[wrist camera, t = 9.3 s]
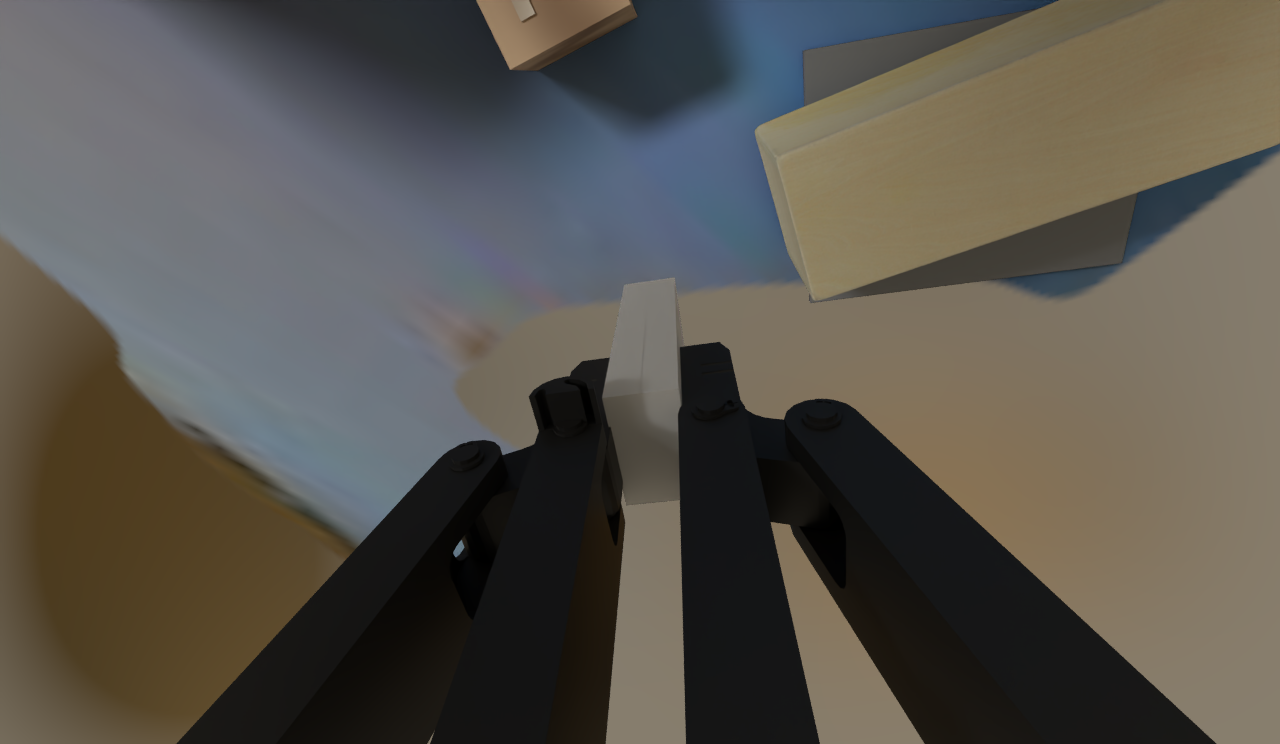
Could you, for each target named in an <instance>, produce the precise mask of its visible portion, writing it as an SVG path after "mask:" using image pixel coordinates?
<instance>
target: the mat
mask: <svg viewBox="0 0 1280 744" xmlns="http://www.w3.org/2000/svg"><path fill="white" fill-rule="evenodd" d="M1035 10H1037V9H1033V10H1028V11H1022V12H1016V13H1011V14H1005V15H1000V16H994V17H989V18H983V19H977V20H972V21H966V22H961V23H955V24H949V25H944V26H938V27H933V28H927V29H921V30H916V31H910V32H905V33H899V34H894V35H888V36H882V37H877V38H871V39H866V40H860V41H854V42H849V43H843V44H838V45H832V46H827V47H821V48H815V49H810V50H804V51H803V79H804V107H805V106H807V105H810V104H812V103H814V102H817V101H819V100H822V99H824V98H827V97H829V96H832V95H834V94H836V93H839V92H841V91H844V90H846V89H848V88H851V87H853V86H856V85H858V84H860V83H863V82H865V81H867V80H870V79H872V78H874V77H877V76H879V75H882V74H884V73H887V72H889V71H891V70H894V69H896V68H899V67H901V66H903V65H906V64H908V63H910V62H913V61H915V60H918V59H920V58H922V57H925V56H927V55H929V54H932V53H934V52H937V51H939V50H942V49H944V48H947V47H949V46H952V45H954V44H956V43H959V42H961V41H963V40H966V39H968V38H971V37H973V36H975V35H978V34H980V33H982V32H985V31H987V30H990V29H992V28H995V27H997V26H999V25H1002V24H1004V23H1006V22H1009V21H1011V20H1013V19H1016V18H1018V17H1020V16H1023V15H1025V14H1027V13H1030V12H1032V11H1035ZM1137 194H1138V193H1135V194H1132V195H1129V196H1126V197H1123V198H1120V199H1117V200H1114V201H1111V202H1108V203H1105V204H1102V205H1099V206H1096V207H1093V208H1090V209H1087V210H1084V211H1081V212H1078V213H1075V214H1072V215H1069V216H1066V217H1063V218H1060V219H1058V220H1055V221H1052V222H1049V223H1046V224H1043V225H1040V226H1037V227H1034V228H1031V229H1028V230H1026V231H1023V232H1020V233H1017V234H1014V235H1012V236H1009V237H1006V238H1003V239H1000V240H997V241H994V242H991V243H988V244H985V245H982V246H979V247H976V248H973V249H970V250H968V251H965V252H962V253H959V254H956V255H953V256H950V257H947V258H944V259H941V260H938V261H936V262H933V263H930V264H927V265H924V266H920V267H917V268H915V269H912V270H909V271H906V272H903V273H900V274H897V275H894V276H891V277H888V278H885V279H882V280H879V281H876V282H873V283H871V284H868V285H865V286H862V287H859V288H856V289H853V290H850V291H847V292H844V293H841V294H838V295H835V296H832V297H829V298H826V299H823V300H818V301H815V300H813V299H812V297H811V295H810V294H809V301H810V302H811V303H814V302H822V301H830V300H837V299H845V298H853V297H861V296H869V295H876V294H884V293H892V292H900V291H908V290H916V289H923V288H931V287H939V286H947V285H954V284H962V283H970V282H978V281H986V280H994V279H1001V278H1009V277H1017V276H1025V275H1033V274H1040V273H1048V272H1056V271H1064V270H1072V269H1079V268H1087V267H1095V266H1103V265H1111V264H1118V263H1122V260H1123V256H1124V251H1125V247H1126V242H1127V238H1128V234H1129V229H1130V225H1131V220H1132V216H1133V212H1134V207H1135V203H1136V198H1137Z"/></svg>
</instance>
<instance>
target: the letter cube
mask: <svg viewBox="0 0 1280 744" xmlns="http://www.w3.org/2000/svg"><path fill="white" fill-rule="evenodd" d="M476 1H477V3H478V5H479V7H480V9H481V11H482V13H483V15H484V17H485V19H486V21H487V23H488V25H489V27H490V29H491V31H492V34H493V36H494V38H495V40H496V42H497V44H498V46H499V48H500V50H501V52H502V54H503V56H504V58H505V60H506V62H507V64H508V66H509V68H510V70H530V71H538V70H540V69H542V68H544V67H545V66H547V65H549V64H551V63H553V62H555V61H557V60H559V59H560V58H562V57H564V56H566V55H568V54H570V53H572V52H573V51H575V50H577V49H579V48H581V47H583V46H585V45H586V44H588V43H590V42H592V41H594V40H596V39H598V38H599V37H601V36H603V35H605V34H607V33H609V32H611V31H612V30H614V29H616V28H618V27H620V26H622V25H624V24H626V23H627V22H629V21H631V20H633V19H635V18H637V17H638V16H637V14H636V11H635V9H634V6H633V3H632V1H631V0H476Z"/></svg>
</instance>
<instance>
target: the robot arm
mask: <svg viewBox="0 0 1280 744" xmlns="http://www.w3.org/2000/svg"><path fill="white" fill-rule="evenodd" d="M529 399H530V402H531V406H532V408H533V412H534V416H535V419H536V422H537V426H538V429H539V433H538V435H537V438H536V441H535V444H534V445H532V446H529V447H527V448H524V449H521V450H518V451H515V452H512V453H508V454H505V455H502V452H501V449H500V446H498V445H497V444H496V443H495V442H492V441H487V440H480V441H470V442H467V443H463V444H460V445H458V446H457V447H455V448H453V449H451V450H449V451H448V452H447V453H445V454H444V455H443V456H442V457H441V458H439V459H438V461H437V462H436V463H435V464H434V465H433V466H432V467H431V468H430V469H429V470H428V471H427V472H426V474H425V475H424V476H423V477H422V478H421V479H420V480H419V481H418V482H417V483H416V484H415V485H414V487H413V488H412V489H411V490H410V491H409V492H408V493H407V494H406V495H405V496H404V497H403V498H402V500H401V501H400V502H399V503H398V504H397V505H396V506H395V507H394V508H393V509H392V510H391V511H390V513H389V514H388V515H387V516H386V517H385V518H384V519H383V520H382V521H381V522H380V523H379V525H378V526H377V527H376V528H375V529H374V530H373V531H372V532H371V533H370V534H369V535H368V536H367V538H366V539H365V540H364V541H363V542H362V543H361V544H360V545H359V546H358V547H357V548H356V549H355V551H354V552H353V553H352V554H351V555H350V556H349V557H348V558H347V559H346V560H345V561H344V562H343V564H342V565H341V566H340V567H339V568H338V569H337V570H336V571H335V572H334V573H333V574H332V576H331V577H330V578H329V579H328V580H327V581H326V582H325V583H324V584H323V585H322V586H321V587H320V589H319V590H318V591H317V592H316V593H315V594H314V595H313V596H312V597H311V598H310V599H309V601H308V602H307V603H306V604H305V605H304V606H303V607H302V608H301V609H300V610H299V611H298V613H296V615H295V616H294V617H293V618H292V619H291V620H290V621H289V622H288V623H287V624H286V625H285V627H284V628H283V629H282V630H281V631H280V632H279V633H278V634H277V635H276V636H275V637H274V638H273V640H272V641H271V642H270V643H269V644H268V645H267V646H266V647H265V648H264V649H263V650H262V651H261V653H260V654H259V655H258V656H257V657H256V658H255V659H254V660H253V661H252V662H251V664H250V665H249V666H248V667H247V668H246V669H245V670H244V671H243V672H242V673H241V674H240V675H239V676H238V678H237V679H236V680H235V681H234V682H233V683H232V684H231V685H230V686H229V687H228V688H227V690H226V691H225V692H224V693H223V694H222V695H221V696H220V697H219V698H218V699H217V700H216V701H215V702H214V704H213V705H212V706H211V707H210V708H209V709H208V710H207V711H206V712H205V713H204V714H203V716H202V717H201V718H200V719H199V720H198V721H197V722H196V723H195V724H194V725H193V726H192V727H191V728H190V730H189V731H188V732H187V733H186V734H185V735H184V736H183V737H182V738H181V739H180V740H179V742H178V743H177V744H427V743H428V741H429V740H430V738H431V736H432V734H433V733H434V734H433V738H432V740H431V743H430V744H606V732H607V720H608V710H609V698H610V687H611V676H612V664H613V654H614V642H615V630H616V620H617V608H618V597H619V586H620V574H621V563H622V552H623V541H624V529H625V519H624V514H623V510H622V505H621V497H622V488H623V493H624V497H625V502H626V505H635V504H646V503H655V502H665V501H675V500H680V521H681V561H682V600H683V641H684V679H685V720H686V744H820V742H819V738H818V733H817V729H816V725H815V720H814V715H813V711H812V707H811V702H810V697H809V693H808V688H807V684H806V679H805V675H804V671H803V666H802V661H801V657H800V652H799V648H798V644H797V639H796V635H795V630H794V626H793V621H792V617H791V613H790V608H789V603H788V599H787V594H786V590H785V586H784V581H783V576H782V572H781V567H780V563H779V558H778V554H777V549H776V545H775V540H774V536H773V531H772V528H771V522H776V523H782V524H789V525H790V526H791V529H792V532H793V535H794V537H795V538H796V540H797V542H798V543H799V545H800V546H801V548H802V550H803V551H804V553H805V554H806V556H807V557H808V559H809V561H810V562H811V564H812V565H813V567H814V569H815V570H816V572H817V573H818V575H819V576H820V578H821V580H822V581H823V583H824V584H825V586H826V588H827V589H828V590H829V592H830V594H831V596H832V597H833V599H834V600H835V602H836V604H837V605H838V607H839V608H840V610H841V611H842V613H843V615H844V616H845V618H846V619H847V621H848V623H849V624H850V625H851V627H852V629H853V631H854V632H855V634H856V635H857V637H858V639H859V640H860V641H861V643H862V645H863V646H864V648H865V650H866V651H867V653H868V654H869V656H870V657H871V659H872V661H873V662H874V664H875V666H876V667H877V669H878V670H879V672H880V673H881V675H882V677H883V678H884V680H885V681H886V683H887V685H888V686H889V688H890V689H891V691H892V692H893V694H894V696H895V697H896V699H897V700H898V702H899V704H900V705H901V707H902V708H903V710H904V712H905V713H906V715H907V716H908V718H909V720H910V721H911V723H912V724H913V726H914V727H915V729H916V731H917V732H918V734H919V735H920V737H921V739H922V740H923V742H924V743H925V744H1216V743H1215V742H1214V741H1213V740H1212V739H1211V738H1209V737H1208V736H1207V735H1206V734H1205V733H1204V732H1203V731H1202V730H1201V729H1200V728H1199V727H1198V726H1197V725H1195V723H1193V722H1192V721H1191V720H1190V719H1189V718H1188V717H1187V716H1186V715H1185V714H1184V713H1182V711H1180V710H1179V709H1178V708H1177V707H1176V706H1175V705H1174V704H1173V703H1172V702H1171V701H1170V700H1169V699H1168V698H1166V697H1165V696H1164V695H1163V694H1162V693H1161V692H1160V691H1159V690H1158V689H1157V688H1156V687H1155V686H1154V685H1152V684H1151V683H1150V682H1149V681H1148V680H1147V679H1146V678H1145V677H1144V676H1143V675H1142V674H1141V673H1139V672H1138V671H1137V670H1136V669H1135V668H1134V667H1133V666H1132V665H1131V664H1130V663H1129V662H1127V660H1125V659H1124V658H1123V657H1122V656H1121V655H1120V654H1119V653H1118V652H1117V651H1115V649H1114V648H1112V647H1111V646H1110V645H1109V644H1108V643H1107V642H1106V641H1105V640H1104V639H1103V638H1102V637H1101V636H1099V635H1098V634H1097V633H1096V632H1095V631H1094V630H1093V629H1092V628H1091V627H1090V626H1089V625H1088V624H1087V623H1085V622H1084V621H1083V620H1082V619H1081V618H1080V617H1079V616H1078V615H1077V614H1076V613H1075V612H1074V611H1073V610H1071V609H1070V608H1069V607H1068V606H1067V605H1066V604H1065V603H1064V602H1063V601H1062V600H1061V599H1059V598H1058V597H1057V596H1056V595H1055V594H1054V593H1053V592H1052V591H1051V590H1050V589H1049V588H1048V587H1047V586H1045V584H1043V583H1042V582H1041V581H1040V580H1039V579H1038V578H1037V577H1036V576H1035V575H1034V574H1033V573H1031V572H1030V571H1029V570H1028V569H1027V568H1026V567H1025V566H1024V565H1023V564H1022V563H1021V562H1020V561H1019V560H1018V559H1016V558H1015V557H1014V556H1013V555H1012V554H1011V553H1010V552H1009V551H1008V550H1007V549H1006V548H1005V547H1003V546H1002V545H1001V544H1000V543H999V542H998V541H997V540H996V539H995V538H994V537H993V536H992V535H990V534H989V533H988V532H987V531H986V530H985V529H984V528H983V527H982V526H981V525H980V524H979V523H978V522H976V521H975V520H974V519H973V518H972V517H971V516H970V515H969V514H968V513H966V512H965V510H964V509H962V508H961V507H960V506H959V505H958V504H957V503H956V502H955V501H954V500H953V499H952V498H951V497H949V496H948V495H947V494H946V493H945V492H944V491H943V490H942V489H941V488H940V487H939V486H938V485H936V484H935V483H934V482H933V481H932V480H931V479H930V478H929V477H928V476H927V475H926V474H925V473H924V472H922V471H921V470H920V469H919V468H918V467H917V466H916V465H915V464H914V463H913V462H912V461H910V460H909V459H908V458H907V457H906V456H905V455H904V454H903V453H902V452H901V451H900V450H899V449H898V448H897V447H896V446H894V445H893V444H892V443H891V442H890V441H889V440H888V439H887V438H886V437H885V436H884V435H883V434H882V433H880V432H879V431H878V430H877V429H876V428H875V427H874V426H873V425H872V424H871V423H869V421H867V420H866V419H865V418H864V417H863V416H862V415H861V414H860V413H859V412H858V411H857V410H856V409H854V408H852V407H851V406H849V405H848V404H846V403H843V402H839V401H836V400H830V399H815V400H807V401H804V402H801V403H798V404H796V405H794V406H793V407H791V408H790V409H789V410H788V411H787V413H786V415H785V418H784V420H782V419H781V420H780V419H771V418H764V417H761V416H758V415H755V414H752V413H751V412H749V411H747V410H746V409H745V406H744V405H743V403H742V402H741V400H740V396H739V391H738V387H737V382H736V378H735V374H734V369H733V364H732V360H731V355H730V350H729V349H727V348H726V347H725V346H724V345H722V344H721V343H720V342H716V343H708V344H700V345H692V346H685V347H684V340H683V334H682V326H681V320H680V312H679V305H678V298H677V291H676V284H675V278H668V279H661V280H654V281H647V282H640V283H633V284H626V285H624V289H623V294H622V299H621V304H620V310H619V314H618V320H617V325H616V330H615V335H614V340H613V345H612V350H611V355H610V358H604V359H596V360H588V361H582V362H581V363H580V364H579V365H578V366H577V367H576V368H575V369H574V370H573V371H572V372H571V375H570V376H569V377H568V376H567V377H562V378H557V379H554V380H551V381H548V382H546V383H544V384H542V385H540V386H539V387H538V388H536V389H534V390H533V392H532V393H531V394H530V396H529ZM461 540H462V542H463V545H464V547H465V548H464V549H463V551H462V552H461V553H460V555H459V556H457V557H455V556H454V554H453V552H454V550H455V548H456V546H457V545H458V543H459V542H460V541H461ZM434 731H435V732H434Z"/></svg>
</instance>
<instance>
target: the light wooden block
mask: <svg viewBox="0 0 1280 744" xmlns="http://www.w3.org/2000/svg"><path fill="white" fill-rule="evenodd" d="M755 136H756V140H757V143H758V146H759V150H760V153H761V157H762V161H763V164H764V168H765V171H766V175H767V179H768V182H769V186H770V189H771V193H772V197H773V200H774V204H775V207H776V211H777V215H778V218H779V222H780V226H781V229H782V233H783V237H784V240H785V244H786V248H787V251H788V254H789V256H790V258H791V260H792V262H793V264H794V265H795V267H796V269H797V271H798V273H799V275H800V277H801V278H802V280H803V282H804V284H805V286H806V288H807V290H808V292H809V294H810V295H811V297H812V299H813V300H815V301H818V300H823V299H826V298H829V297H832V296H835V295H838V294H841V293H844V292H847V291H850V290H853V289H856V288H859V287H862V286H865V285H868V284H871V283H873V282H876V281H879V280H882V279H885V278H888V277H891V276H894V275H897V274H900V273H903V272H906V271H909V270H912V269H915V268H917V267H920V266H924V265H927V264H930V263H933V262H936V261H938V260H941V259H944V258H947V257H950V256H953V255H956V254H959V253H962V252H965V251H968V250H970V249H973V248H976V247H979V246H982V245H985V244H988V243H991V242H994V241H997V240H1000V239H1003V238H1006V237H1009V236H1012V235H1014V234H1017V233H1020V232H1023V231H1026V230H1028V229H1031V228H1034V227H1037V226H1040V225H1043V224H1046V223H1049V222H1052V221H1055V220H1058V219H1060V218H1063V217H1066V216H1069V215H1072V214H1075V213H1078V212H1081V211H1084V210H1087V209H1090V208H1093V207H1096V206H1099V205H1102V204H1105V203H1108V202H1111V201H1114V200H1117V199H1120V198H1123V197H1126V196H1129V195H1132V194H1135V193H1138V192H1141V191H1144V190H1147V189H1150V188H1152V187H1155V186H1158V185H1161V184H1164V183H1167V182H1170V181H1173V180H1176V179H1179V178H1182V177H1185V176H1188V175H1191V174H1194V173H1197V172H1200V171H1203V170H1206V169H1209V168H1211V167H1214V166H1217V165H1220V164H1223V163H1226V162H1229V161H1232V160H1235V159H1238V158H1241V157H1244V156H1247V155H1250V154H1252V153H1255V152H1258V151H1261V150H1264V149H1267V148H1270V147H1272V146H1275V145H1278V144H1280V0H1058V1H1056V2H1054V3H1051V4H1049V5H1047V6H1044V7H1042V8H1039V9H1037V10H1035V11H1032V12H1030V13H1027V14H1025V15H1023V16H1020V17H1018V18H1016V19H1013V20H1011V21H1009V22H1006V23H1004V24H1002V25H999V26H997V27H995V28H992V29H990V30H987V31H985V32H982V33H980V34H978V35H975V36H973V37H971V38H968V39H966V40H963V41H961V42H959V43H956V44H954V45H952V46H949V47H947V48H944V49H942V50H939V51H937V52H934V53H932V54H929V55H927V56H925V57H922V58H920V59H918V60H915V61H913V62H910V63H908V64H906V65H903V66H901V67H899V68H896V69H894V70H891V71H889V72H887V73H884V74H882V75H879V76H877V77H874V78H872V79H870V80H867V81H865V82H863V83H860V84H858V85H856V86H853V87H851V88H848V89H846V90H844V91H841V92H839V93H836V94H834V95H832V96H829V97H827V98H824V99H822V100H819V101H817V102H814V103H812V104H810V105H807V106H805V107H802V108H800V109H797V110H795V111H792V112H790V113H788V114H785V115H783V116H780V117H778V118H776V119H773V120H771V121H768V122H766V123H764V124H762V125H760V126H758V127H757V128H756V130H755Z"/></svg>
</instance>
